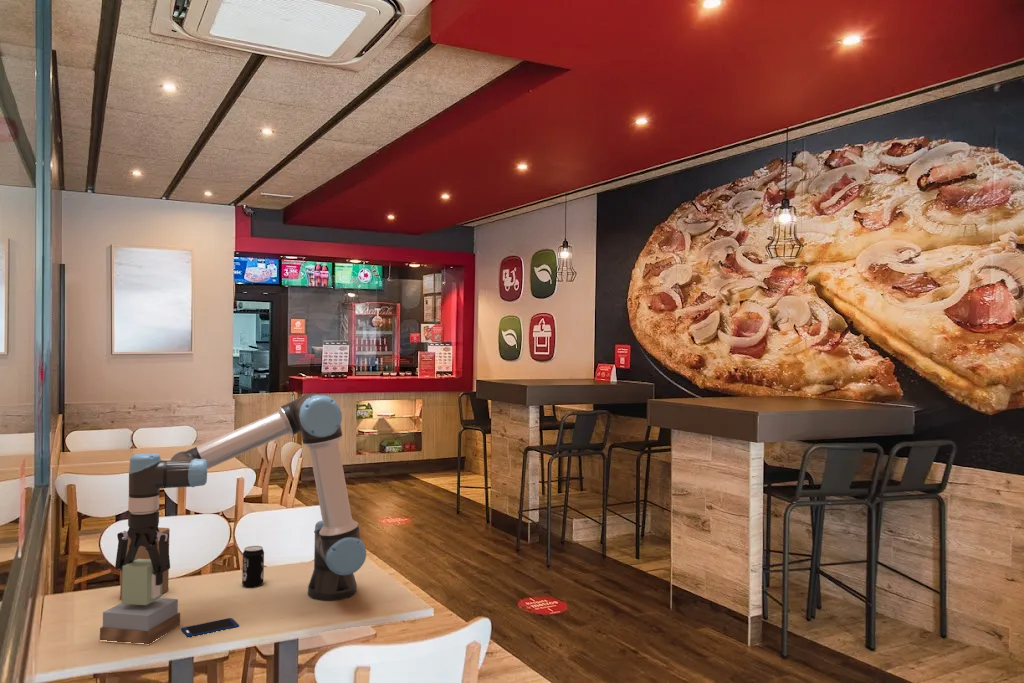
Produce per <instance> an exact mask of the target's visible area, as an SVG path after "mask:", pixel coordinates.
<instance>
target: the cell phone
mask: <svg viewBox="0 0 1024 683" xmlns="http://www.w3.org/2000/svg"><path fill="white" fill-rule="evenodd" d="M239 627H240V624H239V623H238V622H237V621H236V620H235V619H234V618H232V617H228V618H227V617H226V618H223V619H218V620H212V621H209V622H203V623H198V624H194V625H189V626H184V627H183V626H182V627H181V628H180V630H181V632H182V634H183V635H184V634H185V635H186V636H187V637H186V636H185V635H184V636H185V637H186V638H188V637H190V638H193V637H192V636H195V637H199V636H198V635H200V636H203V634H204V635H208V634H207V633H209V634H212V633H213V632H214V633H216V631H218V632H222V631H221V630H223V631H227V630H226V629H228V630H230V629H236V628H239ZM214 633H213V634H214Z"/></svg>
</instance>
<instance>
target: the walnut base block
mask: <svg viewBox="0 0 1024 683" xmlns="http://www.w3.org/2000/svg"><path fill="white" fill-rule="evenodd" d="M180 625H181V612H178V614H176V615H174V616H173V617H171V618H169V619H168V620H166V621H164V622H163V623H161V624H159V625H157V626H156V627H154V628H152V629H151V630H149V631H139V630H127V629H115V628H104V627H103V626H100V628H99V641H100V640H107V641H117V642H131V643H144V644H150V643H152V642H153V641H155V640H156V639H158V638H160V637H161V636H163V635H164V636H166V635H167V634H169V633H171V632H172V631H173V629H174V630H175V629H177V628H179V626H180ZM176 627H177V628H176ZM171 630H172V631H171ZM170 631H171V632H170ZM168 632H169V633H168ZM166 633H167V634H166ZM165 634H166V635H165ZM164 636H163V637H164ZM161 638H162V637H161ZM161 638H160V639H161ZM158 640H159V639H158ZM155 642H156V641H155ZM152 644H153V643H152Z"/></svg>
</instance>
